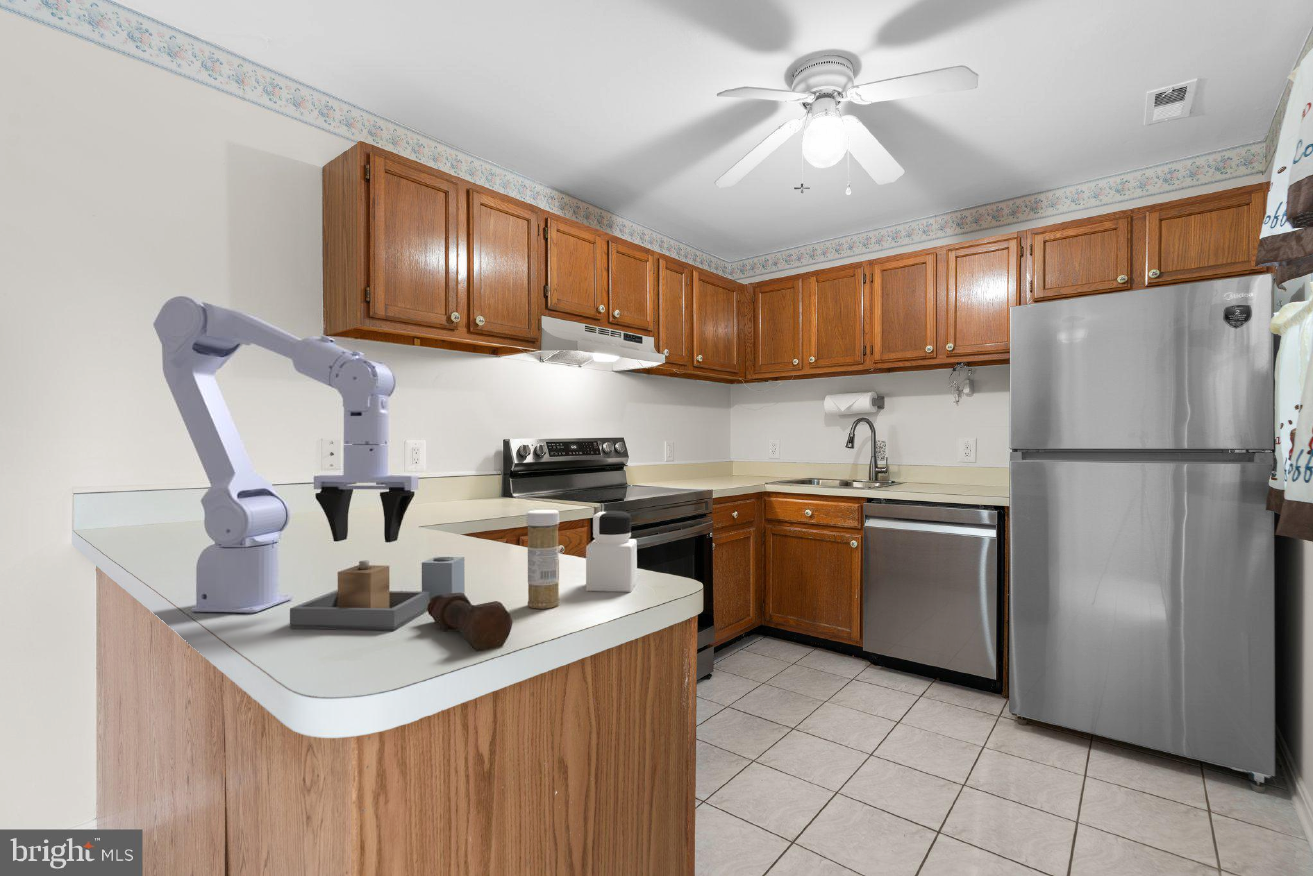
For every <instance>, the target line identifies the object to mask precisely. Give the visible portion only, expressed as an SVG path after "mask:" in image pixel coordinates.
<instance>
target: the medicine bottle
mask: <svg viewBox="0 0 1313 876" xmlns="http://www.w3.org/2000/svg"><path fill="white" fill-rule="evenodd" d="M631 521H632V517H631V514H630V513H627V512H626V511H622V510H621V511H620V510H607V511H599V512H597V513H595V514H594V515H593V516H592V533H593V534H592V537H593V538H594V539H593V540H592V541H591V542H589V544H587V545H586V547H585V590H586V591H587V592H604V593H605V592H608V593H609V592H610V593H611V592H613V593H614V592H615V593H616V592H617V593H618V592H619V593H620V592H621V593H630V592H632V590H633V589H634V587H635V585H636V583H637V581H638V554H637V553H638V552H637V551H638V546H637V545H638V541H637V539H635V538H631V537H632V526H631V525H632V522H631Z"/></svg>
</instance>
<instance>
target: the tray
mask: <svg viewBox="0 0 1313 876" xmlns="http://www.w3.org/2000/svg"><path fill="white" fill-rule="evenodd" d="M429 603H430V592H426V591H422V590H420V591H419V590H418V591H417V590H416V591H415V590H413V591H412V590H411V591H410V590H389V608H339V607H338V589H335V590H333V591H330V592H327V593H326V594H325V593H324V594H323V595H320V596H318V597H316V598H313V599H310V600H308V601H305V602H302V603H300V604H297V605H296V606H293V607H289V629H296V630H299V629H300V630H301V629H302V630H303V629H304V630H305V629H306V630H343V631H344V630H347V631H350V630H351V631H391V632H392V631H397V630H398V629H400V628H402V627H403V626H404V625H406V624H408V623H410V622H411V621H413V620H415V619H416V618H418V617H419V616H421V615H423V614H425V613H427V612H428V609H427V608H428V604H429Z"/></svg>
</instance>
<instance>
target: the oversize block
mask: <svg viewBox="0 0 1313 876" xmlns="http://www.w3.org/2000/svg"><path fill="white" fill-rule="evenodd" d="M465 580H466V579H465V556H434V557H432V558H429V559H426V560H424V561H422V562H421V591H426V592H430V600H431V599H432V598H433V597H435V596H437V595H446V594H451V593H459V592H461V593H463V594H464V595H465V596H466V594H465V590H466V589H465V587H466V586H465ZM430 602H432V601H430Z"/></svg>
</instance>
